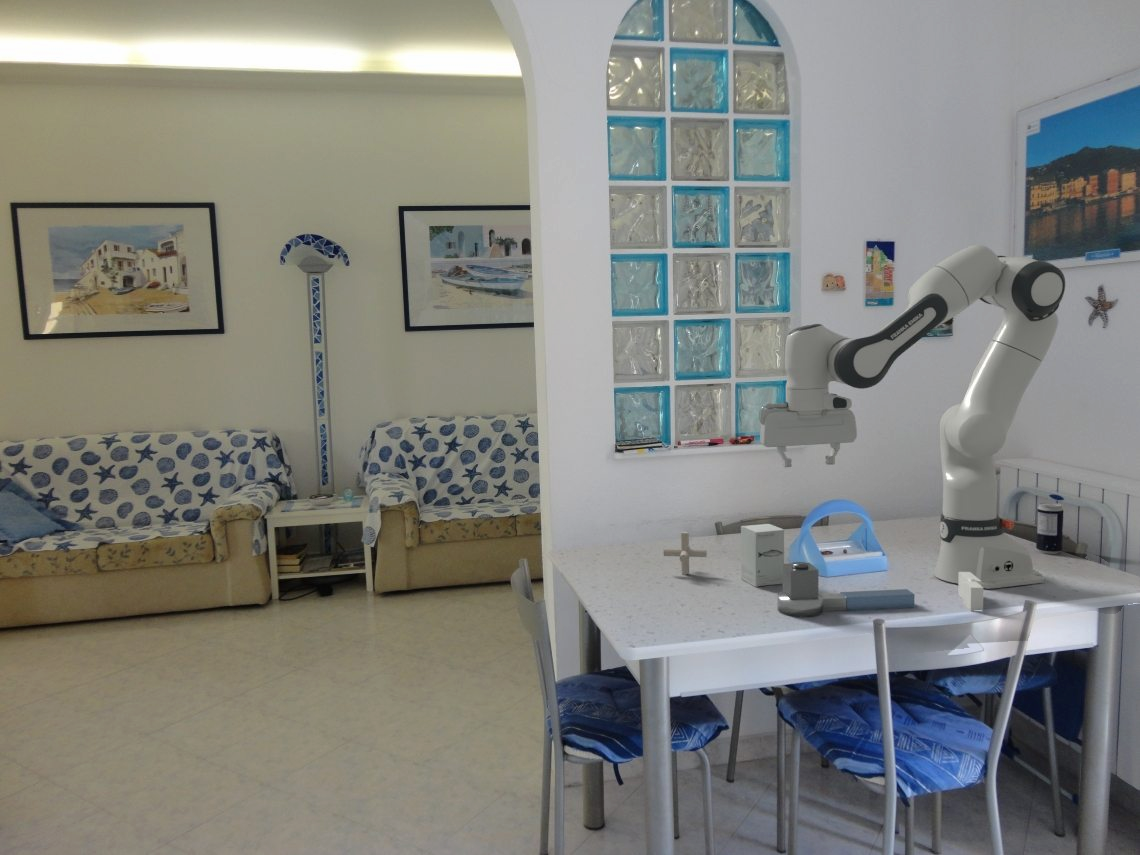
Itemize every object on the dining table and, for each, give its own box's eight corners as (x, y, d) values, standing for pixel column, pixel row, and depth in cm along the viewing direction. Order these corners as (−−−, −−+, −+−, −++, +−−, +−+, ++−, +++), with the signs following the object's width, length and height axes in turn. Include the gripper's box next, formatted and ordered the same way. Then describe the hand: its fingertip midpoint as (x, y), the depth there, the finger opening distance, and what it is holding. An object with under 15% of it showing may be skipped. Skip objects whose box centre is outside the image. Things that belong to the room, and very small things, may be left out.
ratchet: (900, 598, 184) (901, 565, 183) (920, 611, 175) (920, 577, 174) (772, 604, 182) (772, 571, 182) (785, 618, 173) (785, 583, 173)
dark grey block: (809, 590, 181) (809, 559, 180) (818, 599, 175) (818, 567, 175) (782, 592, 181) (782, 560, 180) (790, 600, 175) (790, 568, 174)
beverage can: (1066, 554, 214) (1068, 506, 213) (1043, 555, 214) (1044, 507, 213) (1054, 548, 219) (1055, 501, 218) (1031, 549, 220) (1032, 502, 218)
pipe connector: (705, 580, 201) (705, 537, 200) (662, 579, 203) (661, 537, 202) (707, 568, 211) (707, 528, 210) (666, 567, 213) (665, 527, 212)
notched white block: (954, 591, 189) (954, 565, 188) (1010, 602, 181) (1010, 575, 180) (925, 608, 178) (925, 581, 178) (982, 620, 170) (983, 591, 170)
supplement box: (755, 587, 194) (754, 532, 193) (740, 579, 202) (739, 525, 200) (785, 584, 196) (785, 529, 195) (769, 575, 203) (768, 522, 202)
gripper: (763, 405, 182) (765, 470, 184) (859, 399, 183) (860, 464, 185) (755, 403, 189) (757, 466, 190) (847, 397, 190) (848, 460, 191)
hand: (808, 465), depth 187 cm, fingers open, 8 cm apart
